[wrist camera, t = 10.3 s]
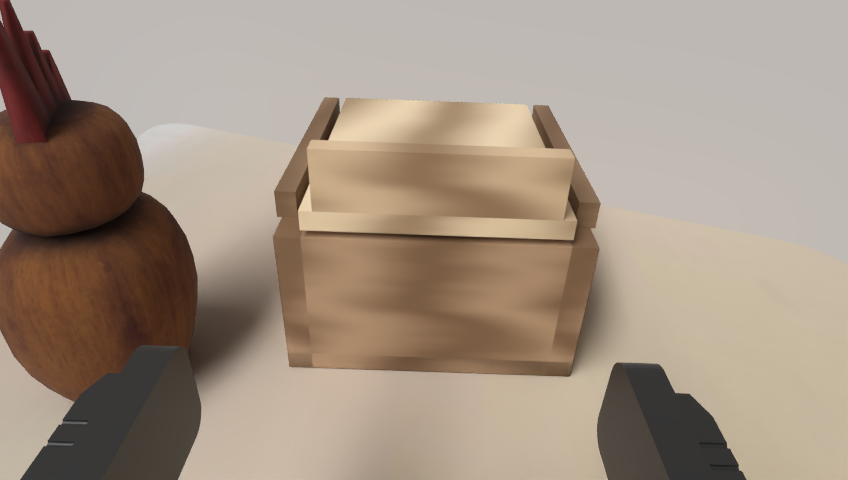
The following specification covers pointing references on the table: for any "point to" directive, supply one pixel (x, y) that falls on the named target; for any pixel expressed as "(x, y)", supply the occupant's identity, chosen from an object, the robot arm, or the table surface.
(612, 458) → the robot arm
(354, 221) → the lid
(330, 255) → the light wooden box
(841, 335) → the table surface
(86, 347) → the wooden figurine
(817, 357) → the table surface
